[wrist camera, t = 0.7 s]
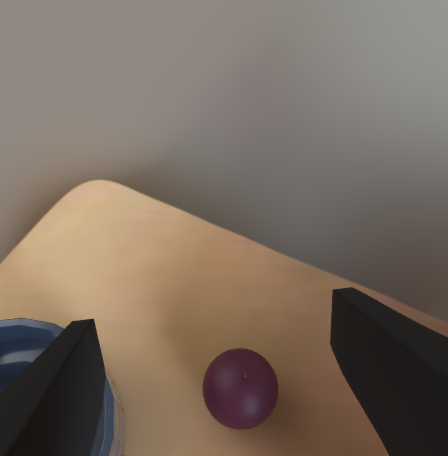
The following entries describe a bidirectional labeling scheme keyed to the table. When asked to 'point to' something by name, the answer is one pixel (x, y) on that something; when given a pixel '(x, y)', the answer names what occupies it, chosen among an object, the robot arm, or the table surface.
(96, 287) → the table surface
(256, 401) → the plum
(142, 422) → the table surface
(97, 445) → the bowl
